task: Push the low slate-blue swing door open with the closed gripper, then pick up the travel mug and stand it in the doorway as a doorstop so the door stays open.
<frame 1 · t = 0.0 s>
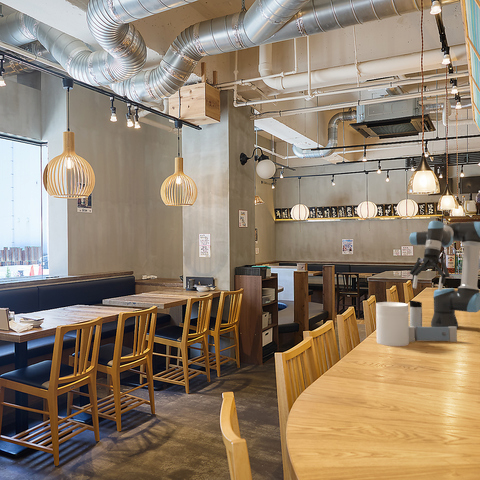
hand: (426, 288, 229), 28 cm above the table, tool tilted 20°, fingers open, 13 cm apart
canister: (392, 342, 231), on the table
travel mug: (415, 337, 243), on the table
door post: (410, 340, 234), on the table
cup: (400, 331, 260), on the table
door: (431, 333, 232), point 4 cm above the table, hinge at 0.0°
wall stub: (452, 341, 232), on the table
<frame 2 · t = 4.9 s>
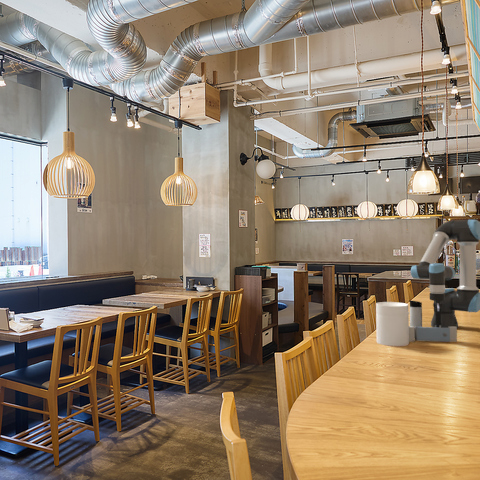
hand: (437, 337, 235), 2 cm above the table, tool pointing down, fingers closed
door: (432, 334, 231), point 4 cm above the table, hinge at 7.3°, touching gripper
everything else where it was.
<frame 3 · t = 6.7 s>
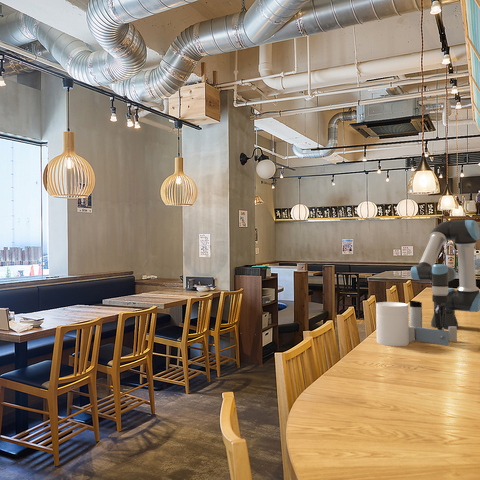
hand: (440, 340, 228), 1 cm above the table, tool pointing down, fingers closed
door: (430, 335, 228), point 4 cm above the table, hinge at 39.7°, touching gripper
everything else where it was.
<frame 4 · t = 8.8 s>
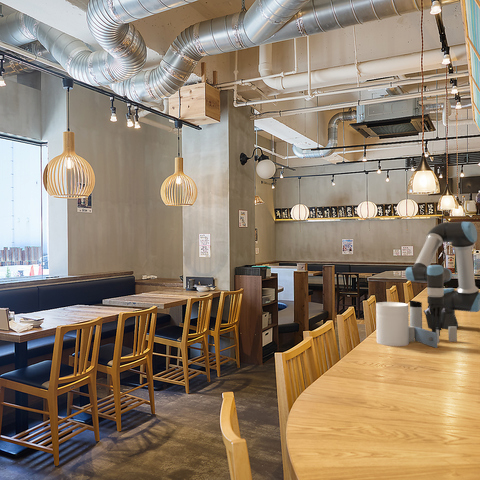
hand: (436, 342, 223), 1 cm above the table, tool pointing down, fingers closed
door: (424, 336, 226), point 4 cm above the table, hinge at 72.3°, touching gripper
everything else where it was.
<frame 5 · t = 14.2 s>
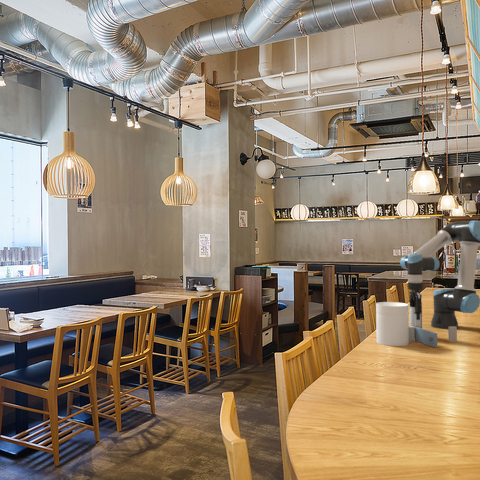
hand: (415, 324, 243), 7 cm above the table, tool pointing down, fingers closed on travel mug, 6 cm apart
travel mug: (415, 337, 243), on the table, touching gripper
door: (424, 336, 226), point 4 cm above the table, hinge at 72.3°
everything else where it was.
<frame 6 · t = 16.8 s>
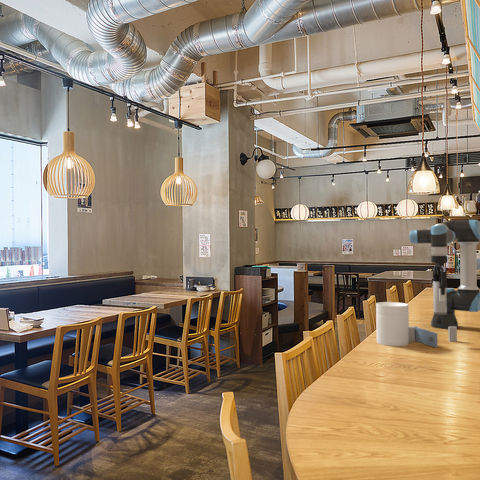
hand: (439, 300, 227), 22 cm above the table, tool pointing down, fingers closed on travel mug, 6 cm apart
travel mug: (439, 314, 227), point 15 cm above the table, touching gripper
everything else where it was.
when the fingers open (8 cm above the table, at t = 19.6 s): travel mug stays where it is, on the table.
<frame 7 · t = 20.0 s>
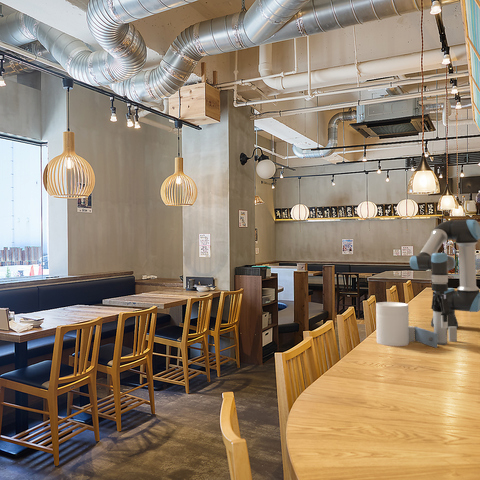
hand: (440, 325, 227), 9 cm above the table, tool pointing down, fingers open, 11 cm apart
travel mug: (440, 344, 227), on the table
everything else where it was.
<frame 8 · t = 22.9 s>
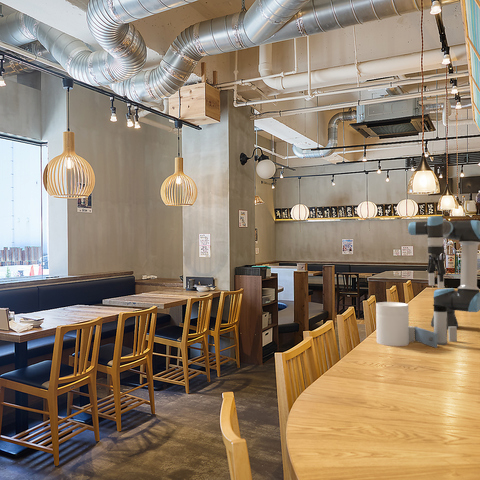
hand: (436, 286, 231), 29 cm above the table, tool pointing down, fingers open, 13 cm apart
nothing on the table moved.
at the end: door at +72° (first picture: +0°); travel mug inside the target area (0.4 cm from its centre), on the table; travel mug tilted 0° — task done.
